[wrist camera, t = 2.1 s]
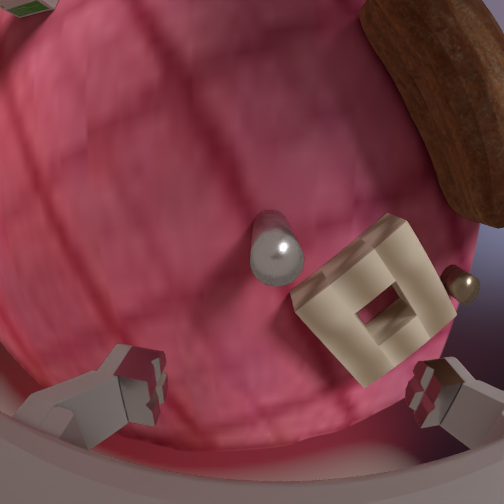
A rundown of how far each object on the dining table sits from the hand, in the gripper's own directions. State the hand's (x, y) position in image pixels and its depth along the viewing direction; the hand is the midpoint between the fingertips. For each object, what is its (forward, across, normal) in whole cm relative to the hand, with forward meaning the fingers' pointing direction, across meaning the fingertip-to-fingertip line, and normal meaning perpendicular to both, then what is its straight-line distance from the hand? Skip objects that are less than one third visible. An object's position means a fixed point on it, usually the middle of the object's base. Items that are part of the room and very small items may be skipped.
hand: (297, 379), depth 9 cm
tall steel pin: (+24, 0, 0) cm, 24 cm away
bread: (+24, -19, -18) cm, 36 cm away
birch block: (+24, -13, +7) cm, 28 cm away
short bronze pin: (+24, -24, +4) cm, 34 cm away
